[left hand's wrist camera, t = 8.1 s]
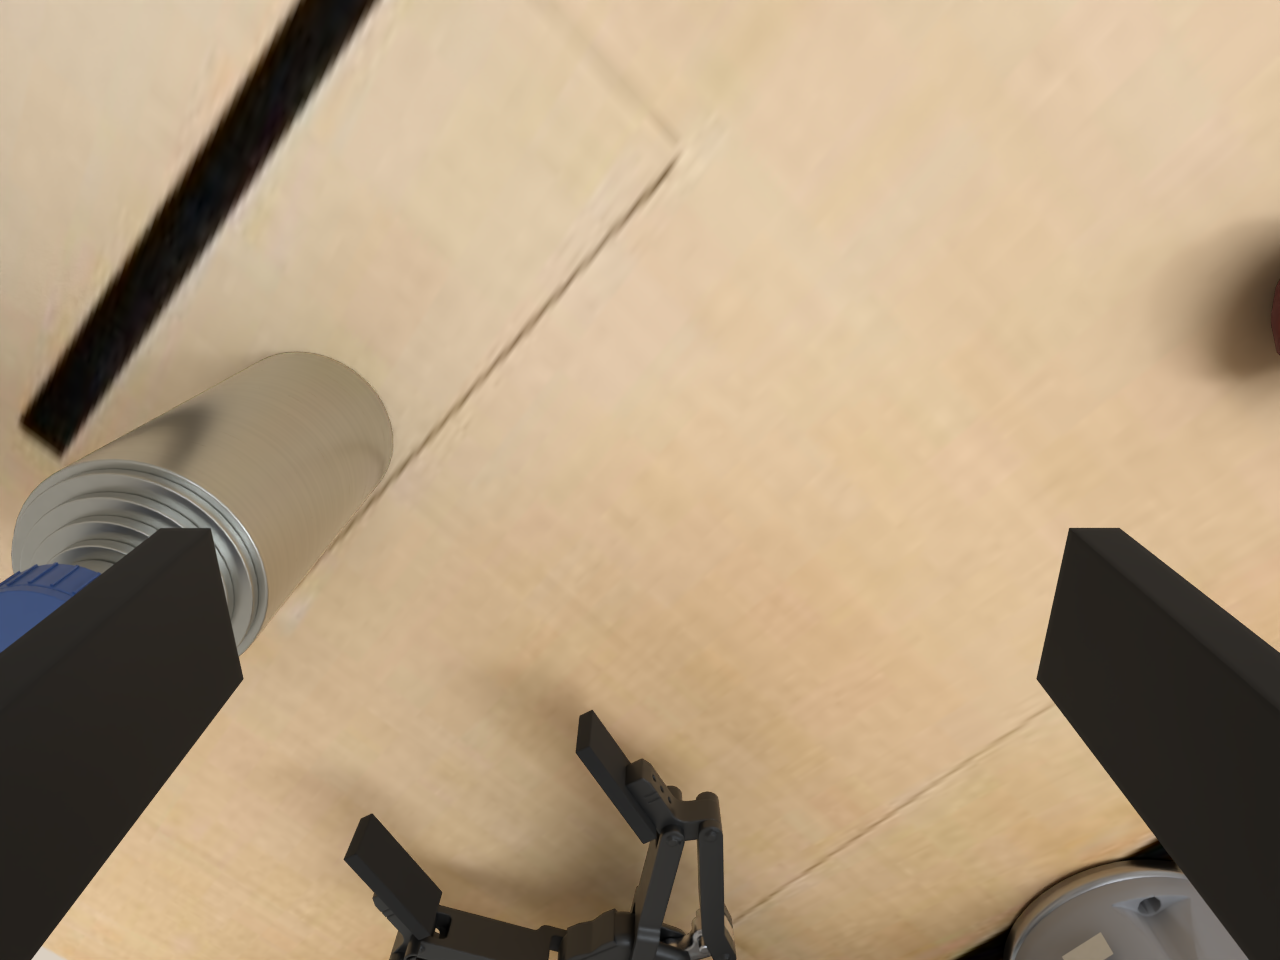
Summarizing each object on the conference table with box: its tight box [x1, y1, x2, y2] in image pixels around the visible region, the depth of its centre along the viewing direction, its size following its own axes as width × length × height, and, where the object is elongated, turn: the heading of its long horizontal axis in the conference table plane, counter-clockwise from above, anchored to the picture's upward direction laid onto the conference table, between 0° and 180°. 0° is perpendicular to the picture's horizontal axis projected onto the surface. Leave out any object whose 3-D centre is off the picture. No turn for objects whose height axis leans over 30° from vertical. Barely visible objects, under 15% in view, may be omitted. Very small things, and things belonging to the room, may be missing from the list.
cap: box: [0, 562, 101, 653], centre depth 23 cm, size 5×4×2 cm
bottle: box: [11, 352, 393, 656], centre depth 32 cm, size 8×8×19 cm
